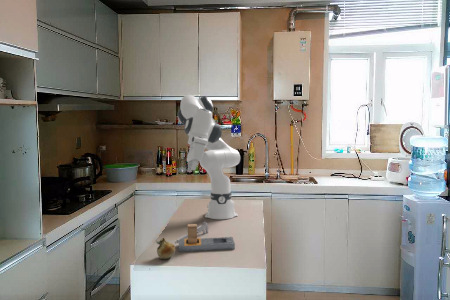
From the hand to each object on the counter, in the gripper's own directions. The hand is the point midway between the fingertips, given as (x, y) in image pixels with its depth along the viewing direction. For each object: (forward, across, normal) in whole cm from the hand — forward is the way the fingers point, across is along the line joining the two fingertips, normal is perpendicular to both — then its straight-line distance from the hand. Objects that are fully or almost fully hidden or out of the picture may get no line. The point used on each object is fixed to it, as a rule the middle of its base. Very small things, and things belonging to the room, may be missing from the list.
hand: (191, 170), depth 174 cm
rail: (+32, +6, +13) cm, 35 cm away
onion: (+39, +13, -4) cm, 41 cm away
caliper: (+31, -10, +9) cm, 33 cm away
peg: (+33, +5, +8) cm, 34 cm away
